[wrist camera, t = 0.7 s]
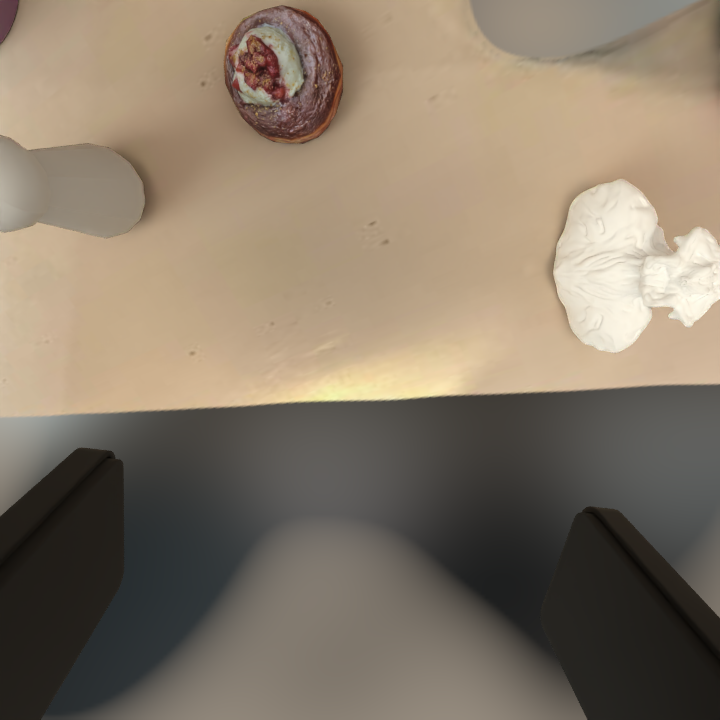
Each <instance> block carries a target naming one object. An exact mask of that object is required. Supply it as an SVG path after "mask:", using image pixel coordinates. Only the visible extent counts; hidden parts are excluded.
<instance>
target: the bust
mask: <svg viewBox="0 0 720 720" xmlns="http://www.w3.org/2000/svg"><path fill="white" fill-rule="evenodd" d="M657 222H658V216H657V214H656V211H655V208H654V207H653V206H652V205H651V204H650V203H649V201H648V199H647V198H646V197H645V195H644V194H643V193H642V192H641V191H640V190H639V189H638V188H637V187H635V186H634V185H632V184H631V183H629V182H628V181H626V180H624V179H618V180H615V181H613V182H609V183H602V184H599V185H597V186H595V187H593V188H590V189H588V190H586V191H584V192H582V193H581V194H579V195H578V196H577V197H576V198H575V199H574V201H573V202H572V204H571V205H570V208H569V213H568V217H567V221H566V226H565V229H564V231H563V233H562V235H561V237H560V239H559V241H558V243H557V247H556V258H555V262H554V269H553V275H554V279H555V283H556V285H557V294H558V297H559V299H560V300H561V302H562V303H563V305H564V306H565V309H566V312H567V316H568V320H569V325H570V328H571V329H572V331H573V332H574V334H575V335H576V336H577V338H578V339H579V340H580V341H581V342H583V343H584V344H586V345H591V346H593V347H595V348H596V349H597V350H600V351H609V352H611V353H618V352H620V351H622V350H624V349H626V348H627V347H629V346H630V345H632V344H633V343H634V342H635V341H636V340H637V338H638V337H639V336H640V334H641V333H642V331H643V330H644V329H645V328H646V327H647V325H648V324H649V322H650V320H651V318H652V311H651V307H663V306H667V307H672V308H674V310H673V311H672V312H671V313H670V314H669V315H668V318H670V319H677V320H680V321H681V322H682V323H683V325H684V326H686V327H691V326H692V325H693V323H694V322H695V321H697V320H699V319H700V318H701V317H702V316H703V314H705V313H706V312H707V311H708V309H709V308H710V307H711V305H712V304H713V303H715V302H716V301H718V300H720V245H719V244H718V243H717V241H716V239H715V238H714V237H713V236H712V235H711V233H710V232H709V231H708V230H707V229H705V228H701V227H699V226H697V227H695V228H693V229H692V230H691V231H690V232H689V233H688V234H687V235H685V236H676V237H675V238H674V242H675V243H676V244H677V245H678V247H679V248H678V250H677V251H676V252H675V251H672V250H671V249H670V248H669V247H668V245H667V243H666V241H665V238H664V232H663V229H662V228H661V227H660V226H658V225H657Z"/></svg>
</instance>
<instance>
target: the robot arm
mask: <svg viewBox="0 0 720 720" xmlns="http://www.w3.org/2000/svg"><path fill="white" fill-rule="evenodd" d="M123 482H124V479H123V462H122V461H121V460H118V459H115V455H114V453H113V452H112V451H107V450H98V449H90V448H78V449H76V450H75V451H74V452H73V453H71V454H70V455H69V456H68V457H67V458H66V459H65V460H64V461H62V462H61V463H60V464H59V465H58V466H57V467H56V468H55V469H53V470H52V471H51V472H50V473H49V474H48V475H47V476H46V477H44V478H43V479H42V480H41V481H40V482H39V483H38V484H36V485H35V486H34V487H33V488H32V489H31V490H30V491H28V492H27V493H26V494H25V495H24V496H23V497H22V498H21V499H19V500H18V501H17V502H16V503H15V504H14V505H13V506H12V507H10V508H9V509H8V510H7V511H6V512H5V513H4V514H3V515H2V516H0V720H41V718H42V717H43V715H44V713H45V712H46V710H47V708H48V707H49V705H50V703H51V702H52V700H53V698H54V696H55V695H56V693H57V691H58V690H59V688H60V686H61V685H62V683H63V681H64V679H65V678H66V676H67V675H68V673H69V671H70V670H71V668H72V666H73V665H74V663H75V661H76V660H77V658H78V656H79V655H80V653H81V651H82V649H83V648H84V646H85V644H86V643H87V641H88V639H89V638H90V636H91V634H92V633H93V631H94V629H95V628H96V626H97V624H98V623H99V621H100V619H101V618H102V616H103V614H104V613H105V611H106V609H107V608H108V606H109V604H110V602H111V601H112V599H113V597H114V596H115V594H116V592H117V590H118V589H119V587H120V584H121V581H122V578H123V573H124V484H123ZM540 616H541V623H542V627H543V629H544V631H545V633H546V635H547V637H548V639H549V642H550V643H551V646H552V648H553V650H554V652H555V654H556V656H557V658H558V660H559V662H560V664H561V666H562V668H563V670H564V672H565V674H566V676H567V678H568V681H569V683H570V685H571V687H572V689H573V691H574V693H575V695H576V697H577V699H578V701H579V703H580V705H581V707H582V709H583V711H584V713H585V715H586V717H587V720H720V618H719V617H718V616H717V615H716V614H715V612H714V611H713V610H712V609H711V608H710V607H709V606H708V605H707V604H706V603H705V602H704V601H703V600H702V599H701V598H700V596H699V595H698V594H696V592H695V591H694V590H693V589H692V588H691V587H690V586H689V585H688V584H687V583H686V582H685V580H684V579H682V577H681V576H680V575H679V574H678V573H677V572H676V571H675V570H674V569H673V568H672V567H671V566H670V564H669V563H667V561H666V560H665V559H664V558H663V557H662V556H661V555H660V554H659V553H658V552H657V551H656V550H655V549H654V547H653V546H652V545H651V544H650V543H649V542H648V541H647V540H646V539H645V538H644V537H643V536H642V535H641V534H640V533H639V531H637V529H635V527H634V526H633V525H632V524H631V523H630V522H629V521H628V520H627V519H626V518H625V517H624V515H623V514H622V513H620V512H619V511H618V510H615V509H608V508H599V507H586V508H585V509H584V510H583V511H582V512H581V513H578V514H577V515H576V516H575V518H574V521H573V523H572V526H571V529H570V532H569V534H568V537H567V540H566V542H565V545H564V548H563V551H562V553H561V556H560V559H559V562H558V564H557V567H556V570H555V572H554V575H553V578H552V580H551V583H550V586H549V588H548V591H547V594H546V597H545V599H544V602H543V605H542V608H541V615H540Z"/></svg>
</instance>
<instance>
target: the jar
mask: <svg viewBox="0 0 720 720" xmlns="http://www.w3.org/2000/svg"><path fill="white" fill-rule="evenodd" d="M17 7H18V0H0V43H1V42H2V41H3V40H4V39H5V37H6V35H7V34H8V32H9V31H10V28H11V26H12V24H13V21H14V19H15V15H16V11H17Z"/></svg>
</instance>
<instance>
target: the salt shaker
mask: <svg viewBox="0 0 720 720" xmlns="http://www.w3.org/2000/svg"><path fill="white" fill-rule="evenodd" d="M145 202H146V201H145V195H144V185H143V182H142V180H141V179H140V177H139V176H138V174H137V173H136V171H135V169H134V168H133V166H132V165H131V163H130V162H128V161H127V160H126V159H124V158H123V157H122V156H120V155H119V154H117V153H116V152H115V151H113V150H112V149H110V148H108V147H103V146H98V145H93V144H88V143H87V144H78V145H69V146H61V147H52V148H43V149H35V150H27V149H25V148H24V147H22V146H21V145H20V144H18V143H17V142H15V141H14V140H12V139H11V138H9V137H5V136H2V135H0V232H11V231H16V230H20V229H23V228H26V227H30V226H33V225H34V224H35V223H36V222H39V223H43V224H47V225H52V226H56V227H60V228H64V229H69V230H73V231H77V232H80V233H84V234H88V235H93V236H97V237H102V238H110V237H114V236H117V235H120V234H124V233H126V232H128V231H129V230H130V229H131V228H132V227H133V226H134V225H135V224H136V223H137V222H138V221H139V220H140V219H141V216H142V213H143V209H144V205H145Z"/></svg>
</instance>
